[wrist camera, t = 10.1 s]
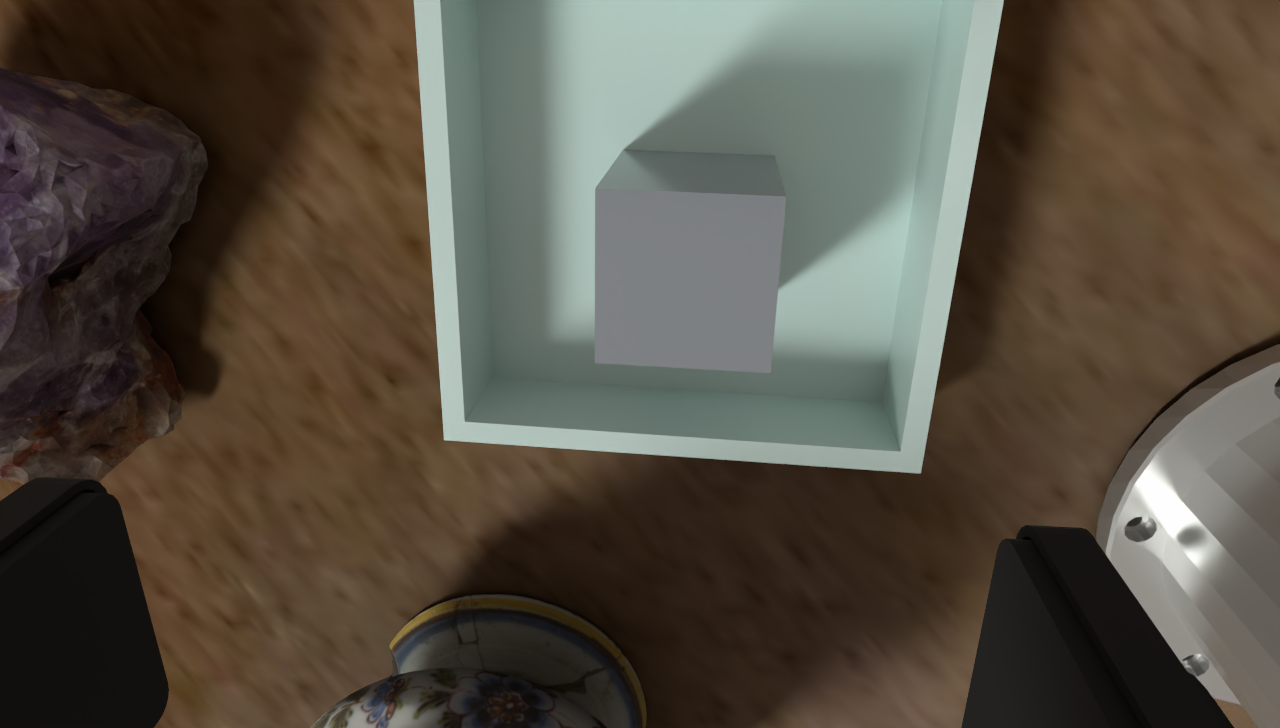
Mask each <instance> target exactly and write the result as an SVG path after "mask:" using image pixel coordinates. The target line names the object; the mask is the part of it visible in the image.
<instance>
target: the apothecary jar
mask: <svg viewBox="0 0 1280 728" xmlns="http://www.w3.org/2000/svg"><path fill="white" fill-rule="evenodd" d="M389 648H390V650H391V653H392V657H393V661H392V663H393V675H392V677H389V678H386V679H383V680H380V681H378V682H375V683H373V684H371V685H368V686H366V687H364V688H362V689H360V690H358V691H356V692H354V693H353V694H351V695H349V696H348V697H346V698H345V699H343V700H342V701H340V702H339V703H337V704H336V705H335V706H333V707H332V708H331V709H329V710H328V711H327V712H326V713H325V714H324V715H323V716H322V717H321V718H319V719H318V720H317V721H316V722H315V723H314V725H313V726H312V727H311V728H646V720H647V711H646V703H645V697H644V693H643V690H642V687H641V684H640V681H639V679H638V676H637V674H636V672H635V670H634V669H633V667H632V665H631V664H630V662H629V661H628V659H627V658H626V657H625V655H624V654H623V653H622V651H621V650H620V648H619V647H618V646H617V645H616V644H615V643H614V642H613V641H612V640H611V639H610V638H609V637H608V636H607V635H605V634H604V633H603V632H602V631H601V630H599V629H598V628H597V627H596V626H594V625H593V624H591V623H590V622H588V621H586V620H585V619H583V618H582V617H580V616H578V615H576V614H574V613H572V612H570V611H568V610H566V609H564V608H561V607H559V606H557V605H554V604H551V603H548V602H545V601H542V600H537V599H534V598H529V597H525V596H519V595H511V594H476V595H467V596H463V597H459V598H455V599H451V600H448V601H445V602H442V603H440V604H437V605H435V606H433V607H431V608H429V609H427V610H425V611H424V612H422V613H420V614H419V615H417V616H416V617H415V618H414V619H412V620H411V621H410V622H409V623H408V624H406V625H405V626H404V627H403V628H402V629H401V630H400V632H399V633H398V634H397V635H396V636H395V638H394V639H393V641H392V642H391V644H390V647H389Z"/></svg>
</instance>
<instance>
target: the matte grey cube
mask: <svg viewBox="0 0 1280 728" xmlns="http://www.w3.org/2000/svg"><path fill="white" fill-rule="evenodd" d="M785 207H786V193H785V190H784V186H783V183H782V179H781V176H780V172H779V169H778V165H777V162H776V158H775V155H750V154H725V153H699V152H674V151H648V150H622V152H621V153H620V155H619V156H618V157H617V159H616V160H615V162H614V163H613V164H612V166H611V167H610V168H609V170H608V171H607V173H606V174H605V175H604V177H603V178H602V179H601V181H600V182H599V184H598V185H597V186H596V188H595V363H603V364H620V365H637V366H653V367H670V368H687V369H704V370H721V371H738V372H755V373H771V364H772V353H773V342H774V330H775V319H776V308H777V297H778V286H779V274H780V263H781V252H782V241H783V230H784V219H785Z"/></svg>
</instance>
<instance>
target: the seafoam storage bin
mask: <svg viewBox="0 0 1280 728" xmlns="http://www.w3.org/2000/svg"><path fill="white" fill-rule="evenodd" d="M1003 3H1004V0H414V10H415V25H416V39H417V54H418V68H419V83H420V97H421V112H422V126H423V141H424V155H425V170H426V184H427V199H428V213H429V228H430V242H431V257H432V271H433V286H434V300H435V315H436V329H437V344H438V358H439V373H440V387H441V402H442V416H443V431H444V440H450V441H464V442H479V443H493V444H507V445H521V446H535V447H550V448H564V449H578V450H592V451H607V452H621V453H635V454H649V455H663V456H678V457H692V458H706V459H720V460H735V461H749V462H763V463H777V464H791V465H806V466H820V467H834V468H848V469H862V470H877V471H891V472H905V473H919V474H921V470H922V464H923V458H924V452H925V447H926V441H927V435H928V430H929V424H930V418H931V413H932V407H933V401H934V396H935V390H936V384H937V378H938V373H939V367H940V361H941V356H942V350H943V344H944V339H945V333H946V327H947V322H948V316H949V310H950V304H951V299H952V293H953V287H954V282H955V276H956V270H957V265H958V259H959V253H960V248H961V242H962V236H963V230H964V225H965V219H966V213H967V208H968V202H969V196H970V191H971V185H972V179H973V174H974V168H975V162H976V156H977V151H978V145H979V139H980V134H981V128H982V122H983V117H984V111H985V105H986V99H987V94H988V88H989V82H990V77H991V71H992V65H993V60H994V54H995V48H996V43H997V37H998V31H999V25H1000V20H1001V14H1002V8H1003ZM622 150H648V151H674V152H699V153H725V154H750V155H775V158H776V162H777V165H778V169H779V172H780V176H781V179H782V183H783V186H784V190H785V193H786V207H785V219H784V230H783V241H782V252H781V263H780V274H779V286H778V297H777V308H776V319H775V330H774V342H773V353H772V364H771V373H755V372H738V371H721V370H704V369H687V368H670V367H653V366H637V365H620V364H603V363H595V188H596V186H597V185H598V184H599V182H600V181H601V179H602V178H603V177H604V175H605V174H606V173H607V171H608V170H609V168H610V167H611V166H612V164H613V163H614V162H615V160H616V159H617V157H618V156H619V155H620V153H621V152H622Z"/></svg>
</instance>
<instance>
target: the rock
mask: <svg viewBox="0 0 1280 728" xmlns="http://www.w3.org/2000/svg"><path fill="white" fill-rule="evenodd" d="M207 168H208V161H207V155H206V151H205V149H204V146H203V144H202V141H201V138H200V137H199V136H198V135H196V134H195V133H193V132H192V131H190V130H189V129H188V128H187V127H186V126H185V125H184V123H183V122H182V121H181V120H180V119H178V118H177V117H175V116H174V115H172V114H171V113H169V112H168V111H166V110H164V109H161V108H158V107H155V106H152V105H149V104H146V103H143V102H142V101H140V100H138V99H137V98H135V97H134V96H132V95H129V94H126V93H122V92H119V91H115V90H112V89H97V88H90V87H88V86H85V85H83V84H81V83H78V82H75V81H66V80H58V79H52V78H47V77H42V76H36V75H31V74H26V73H20V72H15V71H11V70H6V69H3V68H0V479H3V480H8V481H17V482H20V483H22V484H23V485H24V484H25V483H27V482H29V481H31V480H33V479H35V478H41V477H53V478H74V479H92V480H95V481H97V482H99V481H100V480H101V479H102V478H103V477H105V476H106V475H107V474H108V473H109V472H110V471H111V470H112V469H113V468H114V467H116V466H117V465H118V464H119V463H120V462H122V461H123V460H124V459H125V458H126V457H128V456H129V455H130V454H131V453H132V452H133V451H134V450H135V449H136V448H137V447H138V446H139V445H141V444H142V443H144V442H145V441H147V440H148V439H151V438H156V437H160V436H164V435H165V434H167V433H169V432H170V431H172V430H173V429H174V423H176V422H177V421H178V420H179V419H180V418H181V403H182V401H183V398H184V396H185V394H186V393H185V391H184V389H183V388H182V386H181V385H180V383H179V381H178V380H177V376H176V372H175V368H174V365H173V363H172V361H171V359H170V357H169V355H168V354H167V353H166V352H165V351H164V350H163V349H162V348H160V347H159V346H158V345H157V343H156V342H155V341H154V340H153V338H152V337H151V336H150V334H151V332H152V329H153V327H152V326H151V324H150V323H149V322H148V320H147V319H146V317H145V316H144V315H143V313H142V312H141V311H140V309H139V308H140V307H141V306H142V305H143V303H144V302H145V301H146V300H147V299H148V298H149V297H150V296H152V295H153V294H154V293H155V292H156V291H157V289H158V288H159V287H160V285H161V284H162V283H163V281H164V280H165V279H166V276H167V275H168V273H169V272H170V266H171V258H172V254H171V252H170V250H169V247H168V245H169V243H170V242H171V241H172V239H173V237H174V235H175V234H176V232H177V230H178V228H179V227H180V225H181V224H183V223H185V222H187V221H189V220H191V217H192V214H193V211H194V208H195V205H196V200H197V191H198V185H199V184H200V182H201V180H202V179H203V176H204V174H205V172H206V170H207Z"/></svg>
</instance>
